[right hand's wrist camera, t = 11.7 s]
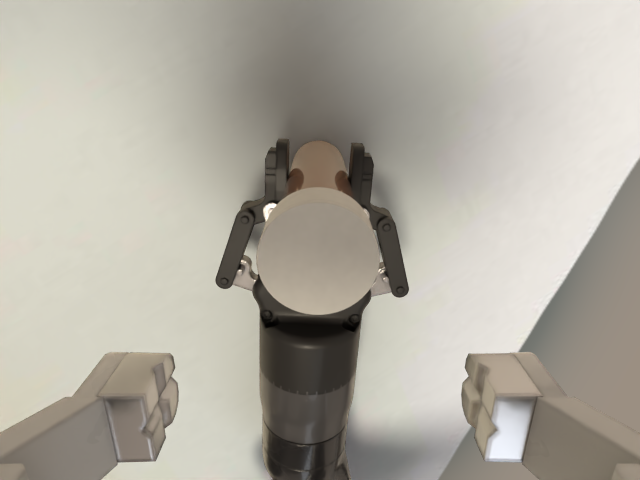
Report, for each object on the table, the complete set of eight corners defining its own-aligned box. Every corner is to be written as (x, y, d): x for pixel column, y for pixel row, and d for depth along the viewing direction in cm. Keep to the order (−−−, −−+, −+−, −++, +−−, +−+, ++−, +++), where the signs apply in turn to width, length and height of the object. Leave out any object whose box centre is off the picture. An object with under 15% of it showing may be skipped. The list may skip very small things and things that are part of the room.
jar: (343, 138, 33) (367, 205, 17) (345, 190, 35) (369, 299, 18) (290, 141, 33) (262, 211, 17) (294, 192, 35) (272, 304, 18)
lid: (372, 183, 18) (379, 198, 16) (373, 285, 20) (380, 312, 18) (257, 190, 18) (249, 206, 16) (269, 291, 20) (263, 318, 18)
